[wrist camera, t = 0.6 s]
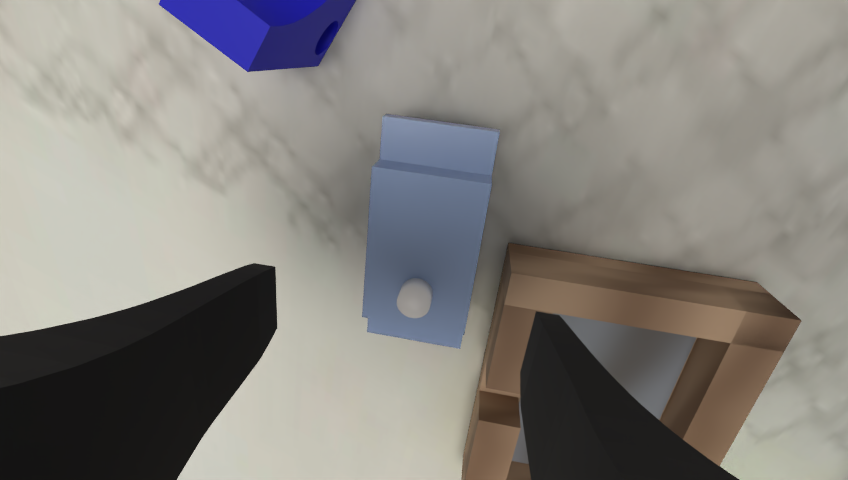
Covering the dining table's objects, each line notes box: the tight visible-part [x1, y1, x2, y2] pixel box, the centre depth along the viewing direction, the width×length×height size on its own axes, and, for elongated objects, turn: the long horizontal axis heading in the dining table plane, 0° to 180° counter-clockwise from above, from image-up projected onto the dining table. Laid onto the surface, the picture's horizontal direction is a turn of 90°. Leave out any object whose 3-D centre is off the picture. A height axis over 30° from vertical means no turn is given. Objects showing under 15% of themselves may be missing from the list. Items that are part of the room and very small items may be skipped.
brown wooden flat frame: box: [462, 243, 801, 480], centre depth 21 cm, size 11×14×3 cm
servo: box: [362, 114, 500, 349], centre depth 17 cm, size 4×9×6 cm, turn 174°
